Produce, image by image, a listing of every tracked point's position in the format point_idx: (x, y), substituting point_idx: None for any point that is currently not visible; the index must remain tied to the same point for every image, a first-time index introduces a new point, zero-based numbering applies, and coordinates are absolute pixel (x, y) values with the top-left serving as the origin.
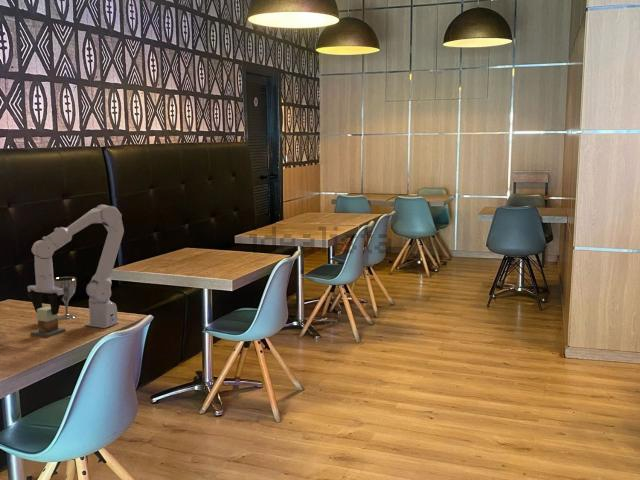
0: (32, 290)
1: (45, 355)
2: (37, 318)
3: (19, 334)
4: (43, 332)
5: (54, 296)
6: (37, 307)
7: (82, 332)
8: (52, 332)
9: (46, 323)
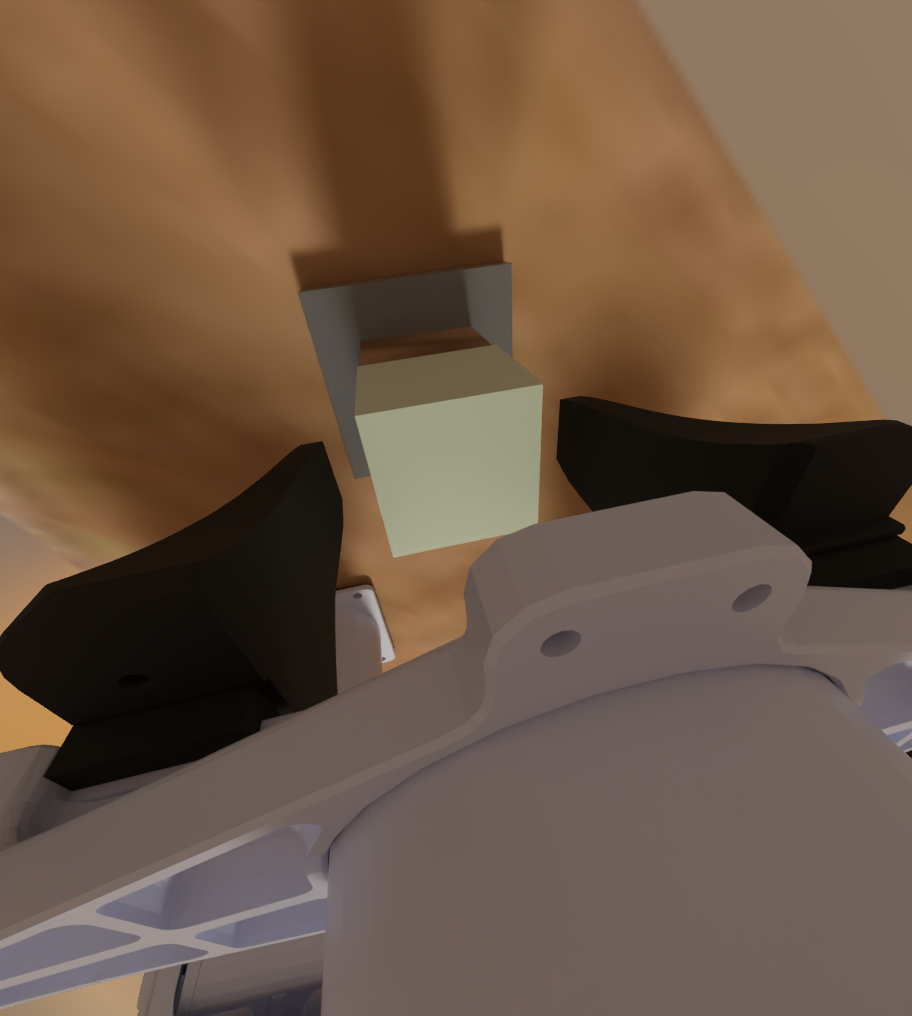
0: (895, 589)
1: None
2: (501, 349)
3: (603, 219)
4: (401, 322)
5: (4, 667)
6: (590, 435)
7: None
8: (336, 365)
9: (377, 362)
